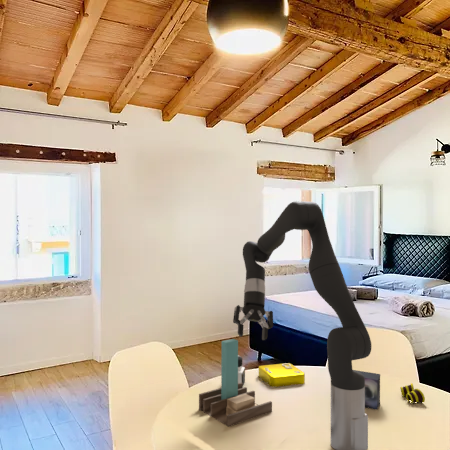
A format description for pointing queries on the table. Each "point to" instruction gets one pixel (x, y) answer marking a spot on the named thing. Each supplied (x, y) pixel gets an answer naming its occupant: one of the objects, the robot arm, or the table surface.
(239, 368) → the medicine bottle
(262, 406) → the wooden rack
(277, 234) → the robot arm
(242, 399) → the upper oak offcut
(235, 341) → the teal board
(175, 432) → the table surface
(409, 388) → the opera glasses
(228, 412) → the lower oak offcut
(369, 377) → the small box
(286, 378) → the element tile
